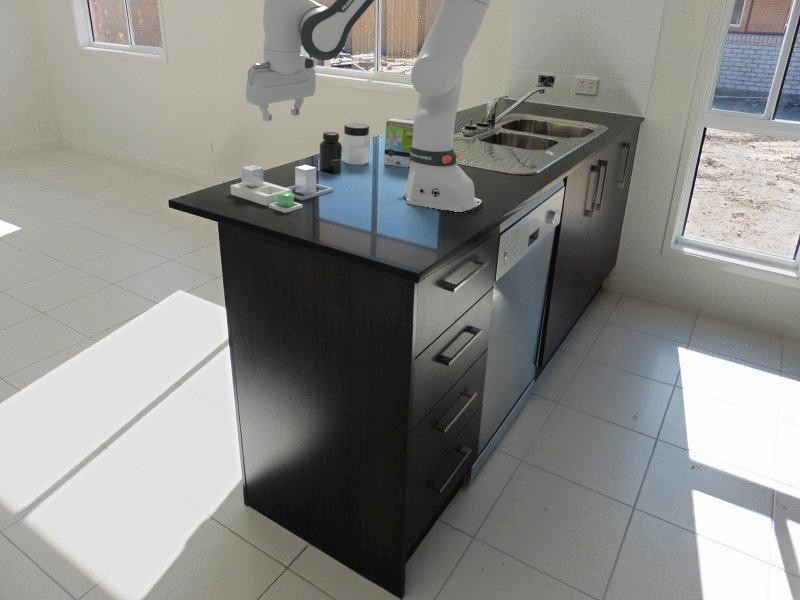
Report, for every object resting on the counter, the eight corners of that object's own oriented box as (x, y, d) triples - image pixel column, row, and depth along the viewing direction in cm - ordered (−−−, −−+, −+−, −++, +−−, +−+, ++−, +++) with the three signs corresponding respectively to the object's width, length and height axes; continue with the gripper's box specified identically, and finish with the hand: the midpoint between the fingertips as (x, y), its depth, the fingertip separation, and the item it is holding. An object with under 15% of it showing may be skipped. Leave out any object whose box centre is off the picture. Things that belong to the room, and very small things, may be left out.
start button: (297, 206, 159) (296, 194, 158) (285, 209, 156) (285, 198, 155) (285, 202, 161) (285, 191, 160) (274, 206, 158) (273, 194, 157)
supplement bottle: (337, 175, 193) (338, 136, 188) (316, 173, 194) (316, 134, 189) (343, 170, 199) (344, 132, 194) (323, 168, 200) (323, 130, 195)
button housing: (302, 212, 160) (302, 204, 159) (285, 217, 155) (285, 209, 154) (285, 206, 163) (285, 199, 162) (268, 211, 158) (268, 204, 157)
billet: (316, 192, 172) (316, 167, 169) (306, 195, 169) (305, 170, 166) (305, 189, 174) (305, 164, 171) (295, 192, 171) (294, 167, 168)
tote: (333, 195, 174) (333, 188, 173) (302, 204, 165) (302, 197, 164) (309, 188, 179) (309, 181, 178) (277, 197, 170) (277, 189, 169)
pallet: (292, 202, 166) (291, 189, 164) (266, 210, 159) (266, 196, 158) (257, 192, 173) (256, 179, 171) (231, 198, 166) (230, 185, 165)
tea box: (383, 165, 208) (385, 120, 202) (390, 159, 217) (393, 115, 211) (427, 171, 205) (431, 125, 199) (433, 164, 214) (437, 119, 208)
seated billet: (263, 193, 168) (263, 167, 165) (252, 196, 165) (251, 170, 162) (253, 190, 170) (252, 164, 167) (241, 193, 167) (240, 167, 164)
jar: (368, 159, 214) (369, 123, 209) (369, 165, 207) (371, 128, 202) (342, 158, 213) (342, 122, 208) (342, 164, 206) (343, 127, 201)
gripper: (257, 67, 143) (258, 127, 151) (320, 60, 158) (318, 115, 165) (239, 61, 146) (240, 120, 154) (303, 54, 161) (301, 108, 168)
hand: (281, 117), depth 159 cm, fingers open, 8 cm apart
